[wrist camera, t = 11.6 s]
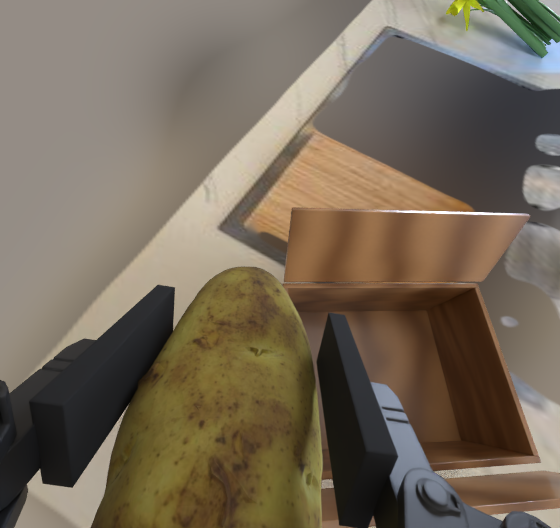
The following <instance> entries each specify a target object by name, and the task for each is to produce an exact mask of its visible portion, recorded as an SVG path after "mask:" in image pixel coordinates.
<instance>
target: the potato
mask: <svg viewBox="0 0 560 528" xmlns="http://www.w3.org/2000/svg"><path fill="white" fill-rule="evenodd" d="M322 470H323V456H322V447H321V431H320V422H319V407H318V395H317V387H316V378H315V372H314V365H313V359H312V354H311V349H310V345H309V341H308V337H307V334H306V331H305V328H304V326H303V323H302V320H301V318H300V316H299V314H298V312H297V310H296V308H295V306H294V304H293V303H292V301H291V299H290V297H289V295H288V294H287V292H286V290H285V289H284V287H283V286H282V285H281V284H280V282H279V281H278V280H277V279H276V278H275V277H274V276H273V275H272V274H270V273H269V272H267V271H265V270H263V269H260V268H257V267H235V268H231V269H228V270H225V271H223V272H221V273H219V274H218V275H216V276H214V277H213V278H212V279H210V280H209V281H208V282H207V283H206V284H205V285H204V287H203V288H202V289H201V290H200V291H199V293H198V294H197V296H196V297H195V299H194V300H193V301H192V303H191V304H190V305H189V307H188V308H187V310H186V311H185V313H184V314H183V316H182V317H181V319H180V321H179V322H178V324H177V325H176V327H175V329H174V330H173V332H172V334H171V335H170V337H169V339H168V340H167V342H166V343H165V345H164V347H163V348H162V350H161V352H160V353H159V355H158V356H157V358H156V360H155V361H154V363H153V364H152V366H151V368H150V369H149V371H148V372H147V373H146V375H144V376H143V377H142V378H141V379H140V380H139V381H138V389H137V391H136V392H135V394H134V396H133V398H132V399H131V402H130V404H129V406H128V408H127V410H126V412H125V414H124V417H123V419H122V422H121V425H120V428H119V431H118V434H117V437H116V441H115V444H114V448H113V451H112V454H111V459H110V465H109V470H108V476H107V483H106V489H105V494H104V497H103V499H102V501H101V504H100V506H99V508H98V510H97V513H96V515H95V518H94V521H93V523H92V526H91V528H322V511H321V477H322Z"/></svg>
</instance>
